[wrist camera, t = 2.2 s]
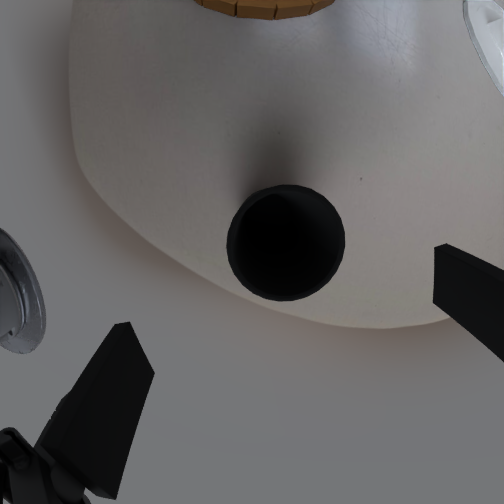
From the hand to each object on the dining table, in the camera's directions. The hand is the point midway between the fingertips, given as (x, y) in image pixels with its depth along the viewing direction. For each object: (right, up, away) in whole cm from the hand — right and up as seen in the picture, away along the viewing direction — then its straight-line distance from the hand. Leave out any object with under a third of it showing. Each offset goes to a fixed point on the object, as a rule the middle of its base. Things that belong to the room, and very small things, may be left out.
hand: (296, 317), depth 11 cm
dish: (+44, +38, +12) cm, 60 cm away
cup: (0, +6, +19) cm, 20 cm away
